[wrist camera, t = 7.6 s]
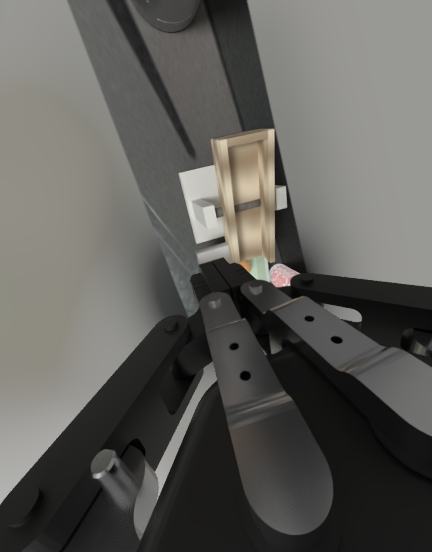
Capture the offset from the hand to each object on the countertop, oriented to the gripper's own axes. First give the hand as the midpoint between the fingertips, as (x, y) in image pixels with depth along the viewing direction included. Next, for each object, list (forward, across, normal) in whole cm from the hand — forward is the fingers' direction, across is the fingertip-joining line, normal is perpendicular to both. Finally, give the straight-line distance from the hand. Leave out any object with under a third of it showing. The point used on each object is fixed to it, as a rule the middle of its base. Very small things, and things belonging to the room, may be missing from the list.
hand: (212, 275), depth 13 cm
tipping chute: (+22, -8, +1) cm, 23 cm away
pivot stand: (+29, -10, +1) cm, 31 cm away
